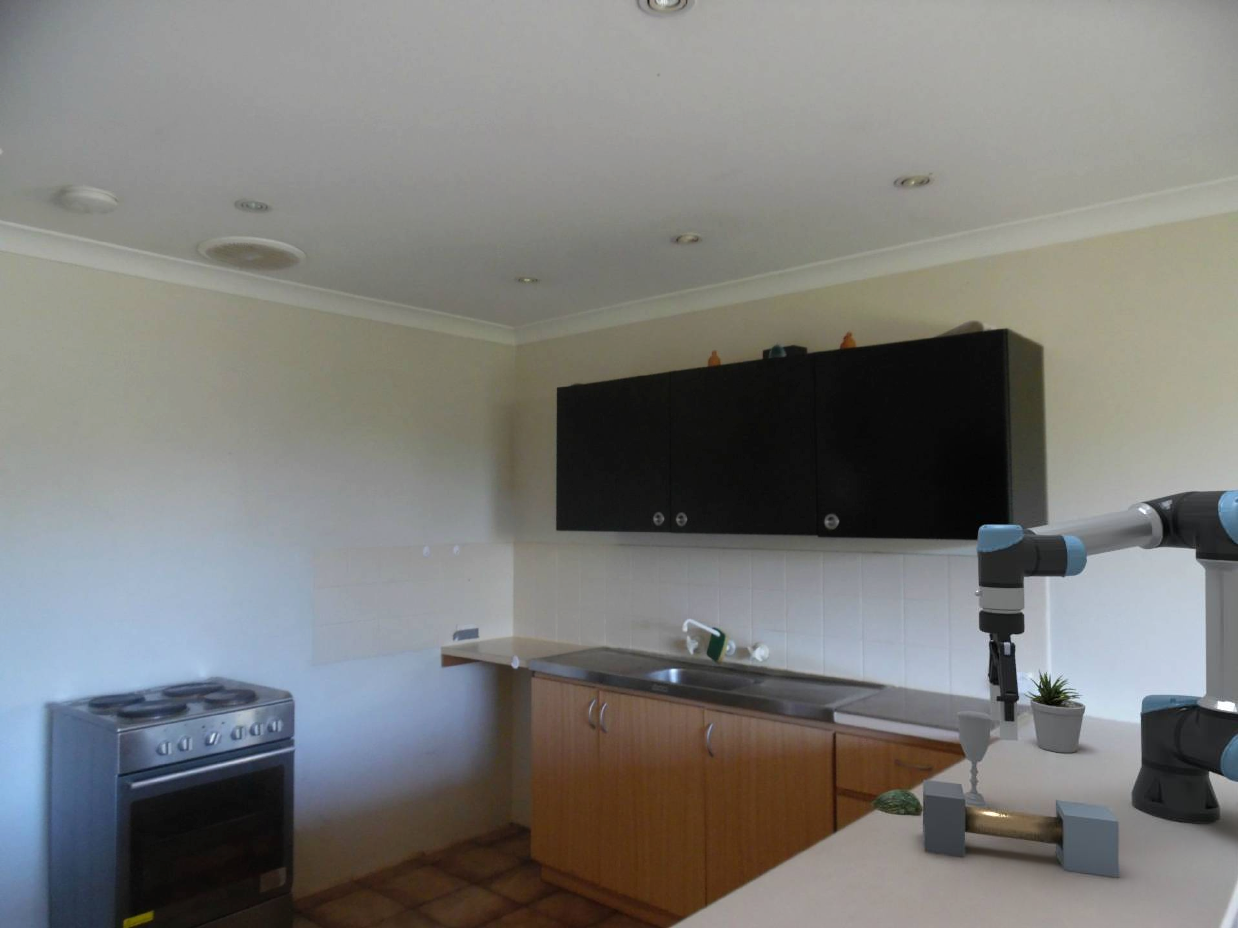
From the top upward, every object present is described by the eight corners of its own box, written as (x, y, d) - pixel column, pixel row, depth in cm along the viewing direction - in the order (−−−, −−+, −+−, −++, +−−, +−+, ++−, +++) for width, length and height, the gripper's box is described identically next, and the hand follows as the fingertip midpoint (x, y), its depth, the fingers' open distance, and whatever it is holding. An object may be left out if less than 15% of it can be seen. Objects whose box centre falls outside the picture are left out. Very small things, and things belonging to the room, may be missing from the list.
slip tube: (1069, 840, 149) (1069, 815, 149) (1074, 850, 145) (1074, 823, 145) (932, 823, 156) (932, 798, 156) (933, 831, 152) (934, 806, 152)
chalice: (995, 813, 170) (996, 720, 171) (959, 809, 172) (960, 718, 173) (987, 801, 178) (988, 712, 179) (952, 797, 179) (953, 709, 180)
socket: (960, 838, 156) (961, 783, 157) (964, 857, 148) (965, 799, 148) (922, 833, 158) (923, 779, 159) (924, 851, 150) (925, 794, 150)
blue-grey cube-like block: (1106, 859, 149) (1107, 805, 149) (1118, 877, 141) (1118, 821, 142) (1055, 852, 151) (1055, 799, 152) (1064, 869, 144) (1064, 814, 144)
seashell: (897, 777, 179) (935, 792, 170) (898, 797, 179) (936, 813, 170) (860, 786, 175) (897, 803, 166) (861, 807, 175) (898, 824, 166)
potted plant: (1030, 738, 230) (1030, 662, 231) (1088, 748, 222) (1088, 669, 223) (1020, 748, 220) (1020, 668, 221) (1081, 758, 212) (1081, 676, 213)
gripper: (971, 602, 169) (973, 711, 168) (987, 618, 145) (989, 746, 144) (1013, 603, 167) (1015, 714, 166) (1036, 619, 143) (1038, 750, 142)
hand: (1003, 729), depth 155 cm, fingers open, 13 cm apart
